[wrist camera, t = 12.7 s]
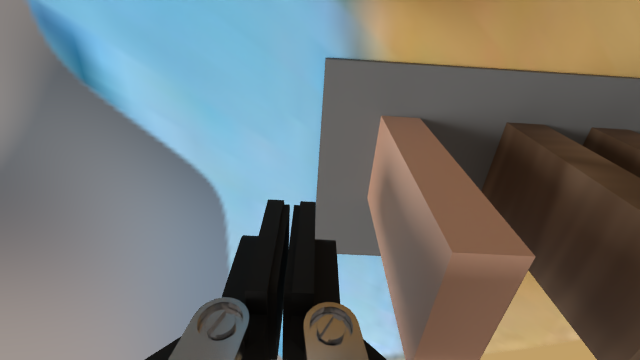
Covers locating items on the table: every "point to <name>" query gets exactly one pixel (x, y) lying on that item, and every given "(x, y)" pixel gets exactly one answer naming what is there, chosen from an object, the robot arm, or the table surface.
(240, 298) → the robot arm
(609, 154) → the domino
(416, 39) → the table surface
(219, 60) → the table surface
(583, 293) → the domino
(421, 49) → the table surface
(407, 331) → the domino
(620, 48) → the table surface
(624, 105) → the mat
